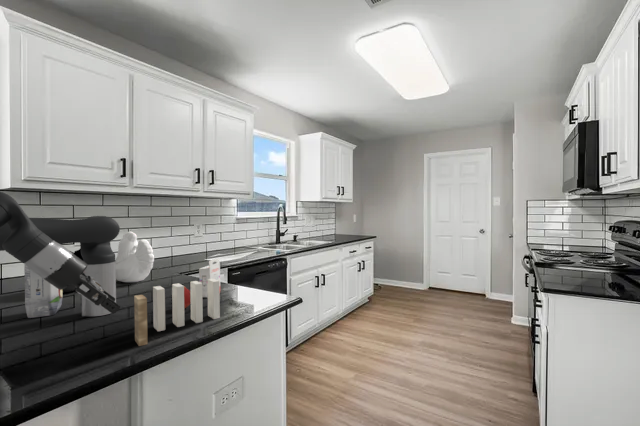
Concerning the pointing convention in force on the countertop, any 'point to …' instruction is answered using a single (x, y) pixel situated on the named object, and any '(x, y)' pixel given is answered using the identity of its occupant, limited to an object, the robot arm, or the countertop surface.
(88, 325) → the countertop surface
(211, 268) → the ink cartridge box
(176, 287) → the domino
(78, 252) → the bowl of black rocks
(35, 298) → the juice carton
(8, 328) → the countertop surface
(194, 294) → the domino
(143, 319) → the maple tile
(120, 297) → the countertop surface
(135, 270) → the decorative rooster
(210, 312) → the domino
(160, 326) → the domino
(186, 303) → the onion
